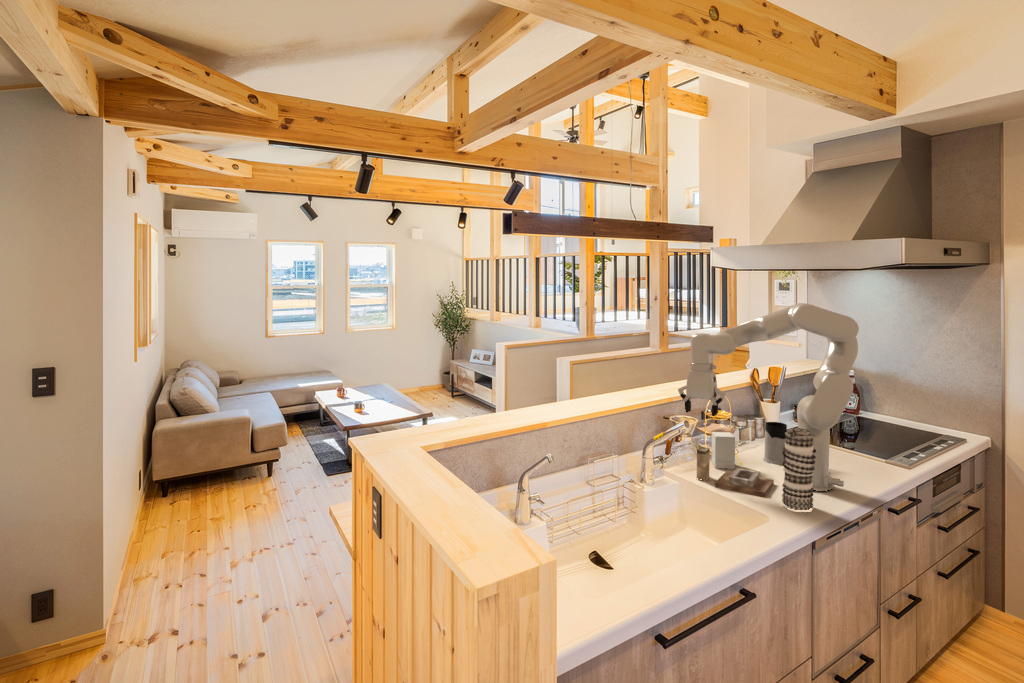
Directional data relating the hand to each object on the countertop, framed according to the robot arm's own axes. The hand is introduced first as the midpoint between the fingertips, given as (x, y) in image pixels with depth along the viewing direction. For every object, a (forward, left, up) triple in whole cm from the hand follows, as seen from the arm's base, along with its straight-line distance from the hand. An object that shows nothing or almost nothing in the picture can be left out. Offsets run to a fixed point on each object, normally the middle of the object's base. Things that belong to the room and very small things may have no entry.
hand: (701, 413), depth 185 cm
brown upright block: (-1, +1, -24) cm, 24 cm away
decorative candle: (-33, +10, -24) cm, 42 cm away
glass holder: (-21, -35, -24) cm, 47 cm away
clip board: (-15, 0, -24) cm, 28 cm away
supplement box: (-3, -17, -24) cm, 29 cm away
